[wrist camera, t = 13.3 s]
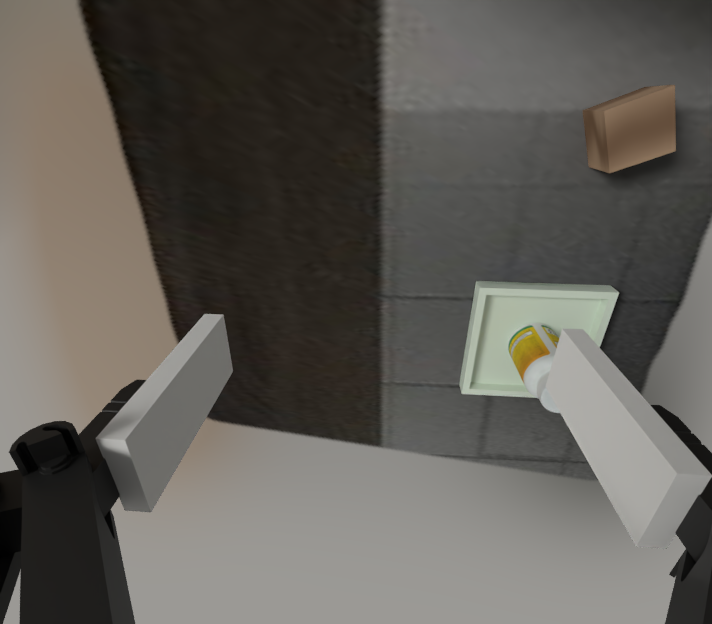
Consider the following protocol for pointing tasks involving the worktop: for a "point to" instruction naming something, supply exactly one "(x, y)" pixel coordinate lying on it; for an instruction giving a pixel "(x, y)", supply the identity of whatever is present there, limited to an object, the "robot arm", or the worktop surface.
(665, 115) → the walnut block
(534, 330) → the supplement bottle
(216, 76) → the worktop surface
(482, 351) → the tray
